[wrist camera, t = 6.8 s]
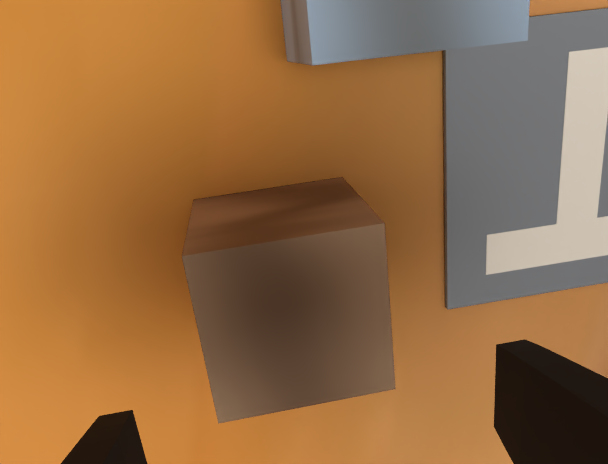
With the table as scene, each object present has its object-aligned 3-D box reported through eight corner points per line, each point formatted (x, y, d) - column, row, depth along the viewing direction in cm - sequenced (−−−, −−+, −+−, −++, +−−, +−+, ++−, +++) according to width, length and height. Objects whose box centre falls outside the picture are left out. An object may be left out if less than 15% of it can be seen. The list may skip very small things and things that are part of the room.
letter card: (730, -6, 17) (736, -7, 17) (683, 266, 20) (688, 268, 20) (442, 26, 16) (445, 26, 16) (445, 306, 19) (447, 309, 19)
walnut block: (341, 176, 17) (384, 223, 13) (353, 306, 19) (395, 388, 14) (193, 198, 17) (181, 255, 12) (219, 329, 19) (218, 423, 14)
